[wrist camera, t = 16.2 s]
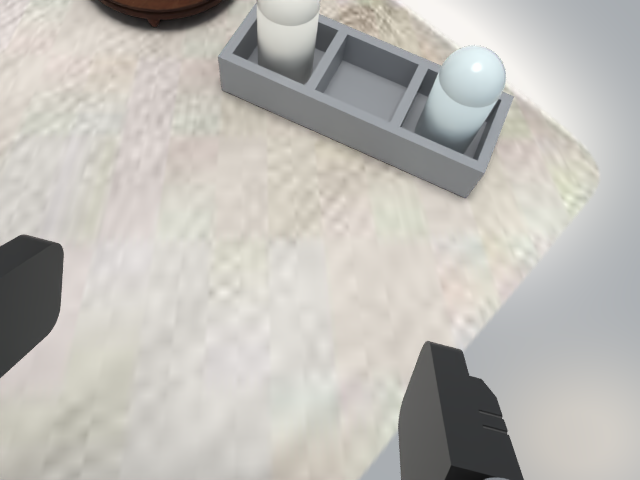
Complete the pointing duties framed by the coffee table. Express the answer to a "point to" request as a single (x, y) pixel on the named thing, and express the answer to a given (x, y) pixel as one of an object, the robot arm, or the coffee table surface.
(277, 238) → the coffee table surface
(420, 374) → the robot arm
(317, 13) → the white cylinder
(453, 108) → the pale blue dome-topped cylinder
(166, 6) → the wooden spool stand
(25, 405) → the coffee table surface
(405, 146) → the tray
